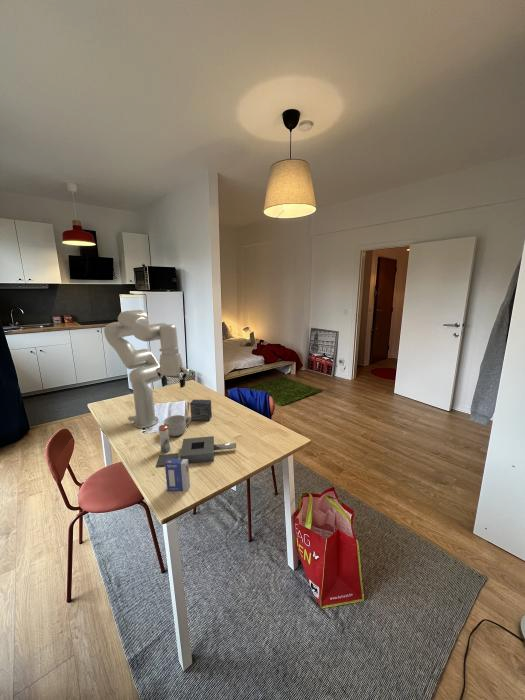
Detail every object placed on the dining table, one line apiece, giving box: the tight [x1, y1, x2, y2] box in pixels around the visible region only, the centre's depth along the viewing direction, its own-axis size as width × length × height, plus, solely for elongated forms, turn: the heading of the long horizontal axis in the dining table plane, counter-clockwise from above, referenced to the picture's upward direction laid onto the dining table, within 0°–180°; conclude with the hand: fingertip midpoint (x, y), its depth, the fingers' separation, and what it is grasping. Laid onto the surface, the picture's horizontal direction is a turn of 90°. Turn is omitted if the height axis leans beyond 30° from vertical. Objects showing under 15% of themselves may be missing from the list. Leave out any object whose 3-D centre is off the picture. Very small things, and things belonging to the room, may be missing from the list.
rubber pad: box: [155, 452, 179, 468], centre depth 125 cm, size 8×8×1 cm
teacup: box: [163, 414, 191, 437], centre depth 147 cm, size 14×11×8 cm
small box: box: [189, 399, 213, 422], centre depth 162 cm, size 11×6×10 cm, turn 84°
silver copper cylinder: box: [158, 424, 171, 454], centre depth 131 cm, size 4×4×12 cm
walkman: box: [164, 458, 191, 492], centre depth 106 cm, size 8×3×12 cm, turn 89°
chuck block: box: [179, 435, 237, 465], centre depth 130 cm, size 24×14×4 cm, turn 99°
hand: (173, 386), depth 137 cm, fingers open, 9 cm apart
